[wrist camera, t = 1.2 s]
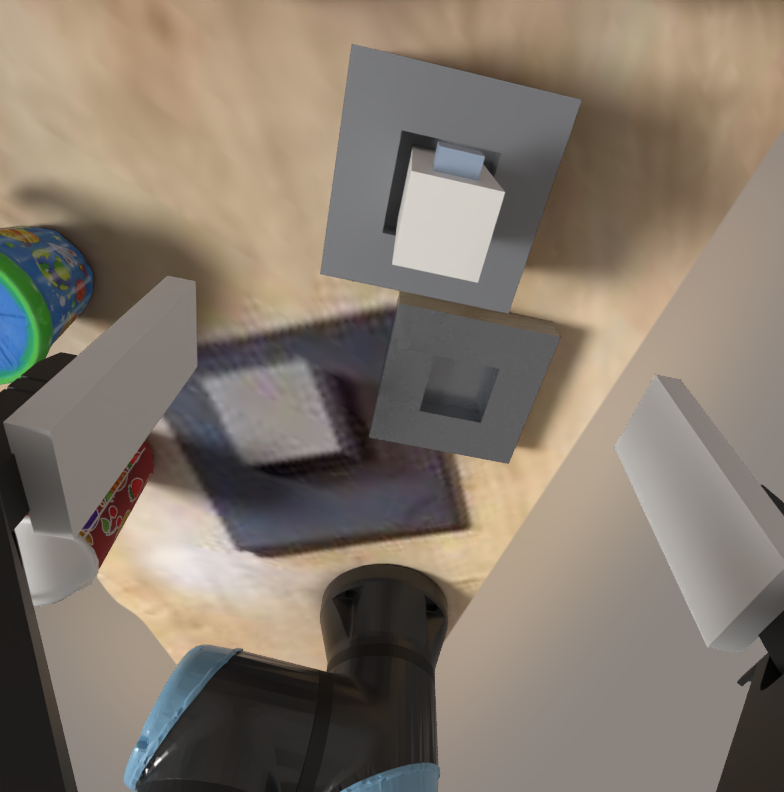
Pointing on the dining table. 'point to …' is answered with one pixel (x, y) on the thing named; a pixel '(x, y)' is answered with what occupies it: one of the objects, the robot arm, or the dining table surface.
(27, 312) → the snack cup
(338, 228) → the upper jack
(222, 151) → the dining table surface
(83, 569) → the smoothie
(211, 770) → the robot arm
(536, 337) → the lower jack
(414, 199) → the plug
